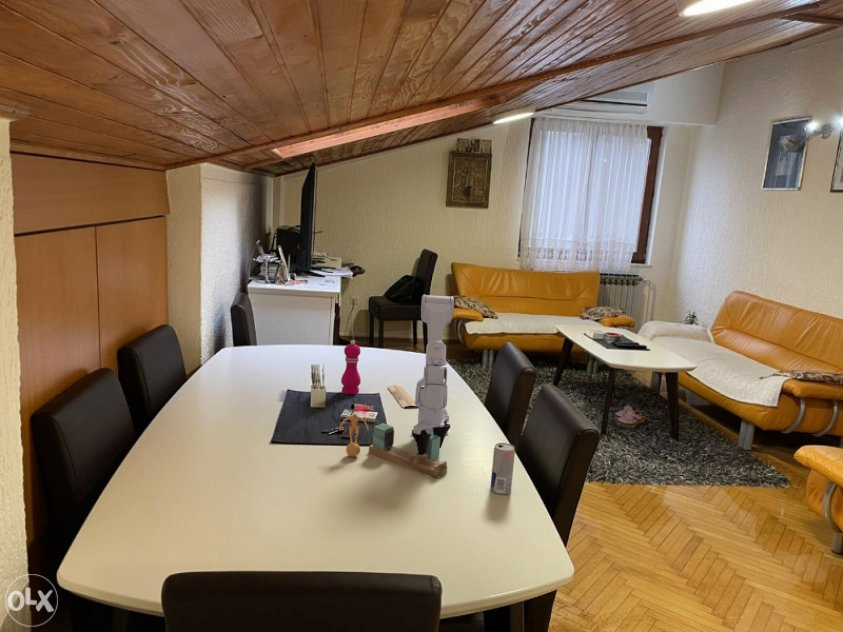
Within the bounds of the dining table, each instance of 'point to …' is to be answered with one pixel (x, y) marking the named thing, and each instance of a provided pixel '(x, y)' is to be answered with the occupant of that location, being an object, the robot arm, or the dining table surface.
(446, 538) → the dining table surface
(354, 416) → the figurine
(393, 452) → the rail
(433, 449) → the block
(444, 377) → the robot arm
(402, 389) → the tan flat bar
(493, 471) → the energy drink
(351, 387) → the pepper mill
